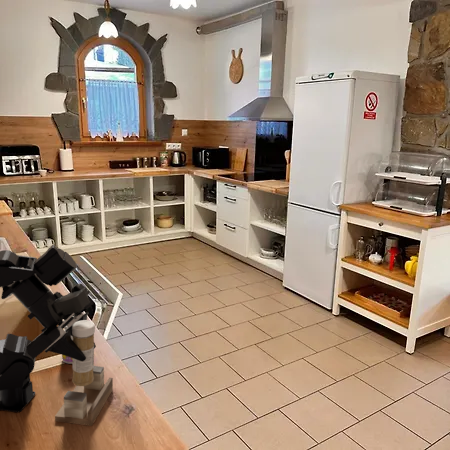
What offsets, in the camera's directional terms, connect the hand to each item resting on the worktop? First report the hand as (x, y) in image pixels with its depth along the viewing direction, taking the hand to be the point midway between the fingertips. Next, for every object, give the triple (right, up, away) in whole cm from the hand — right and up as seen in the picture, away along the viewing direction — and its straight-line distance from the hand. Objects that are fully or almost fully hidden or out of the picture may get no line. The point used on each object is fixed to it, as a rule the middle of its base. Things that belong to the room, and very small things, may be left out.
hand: (89, 354), depth 90 cm
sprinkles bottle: (-2, -7, +2) cm, 7 cm away
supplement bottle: (-11, -8, +20) cm, 24 cm away
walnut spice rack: (-2, -12, +4) cm, 13 cm away
